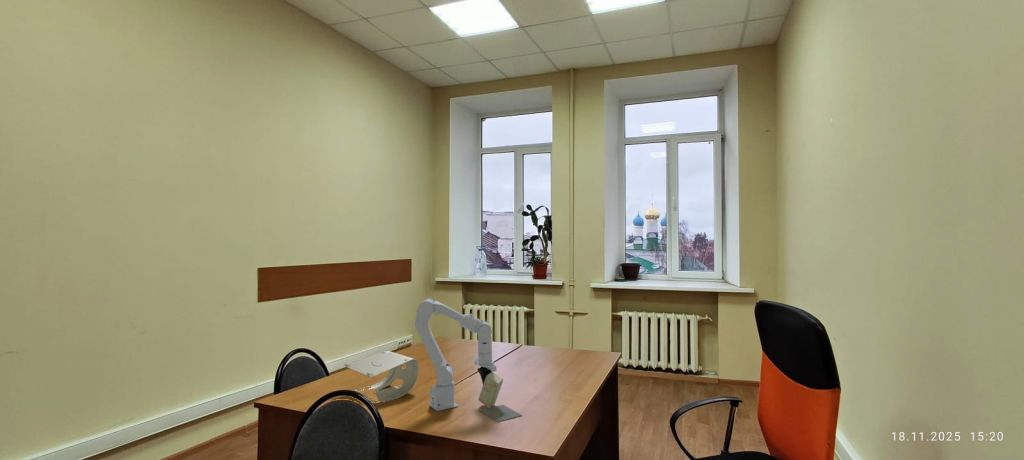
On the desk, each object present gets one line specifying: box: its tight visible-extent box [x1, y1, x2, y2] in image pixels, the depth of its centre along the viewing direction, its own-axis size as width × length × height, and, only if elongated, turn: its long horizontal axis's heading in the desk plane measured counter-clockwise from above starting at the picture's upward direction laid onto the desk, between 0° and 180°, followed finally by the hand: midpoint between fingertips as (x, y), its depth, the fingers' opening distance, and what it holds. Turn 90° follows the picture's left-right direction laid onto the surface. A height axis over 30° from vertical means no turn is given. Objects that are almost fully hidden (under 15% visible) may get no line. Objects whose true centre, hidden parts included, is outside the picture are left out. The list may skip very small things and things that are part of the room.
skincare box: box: [478, 372, 504, 408], centre depth 186 cm, size 6×4×12 cm
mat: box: [479, 404, 523, 423], centre depth 179 cm, size 11×14×1 cm
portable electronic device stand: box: [344, 350, 420, 403], centre depth 206 cm, size 26×24×16 cm
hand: (485, 385), depth 189 cm, fingers closed, pressing on skincare box
